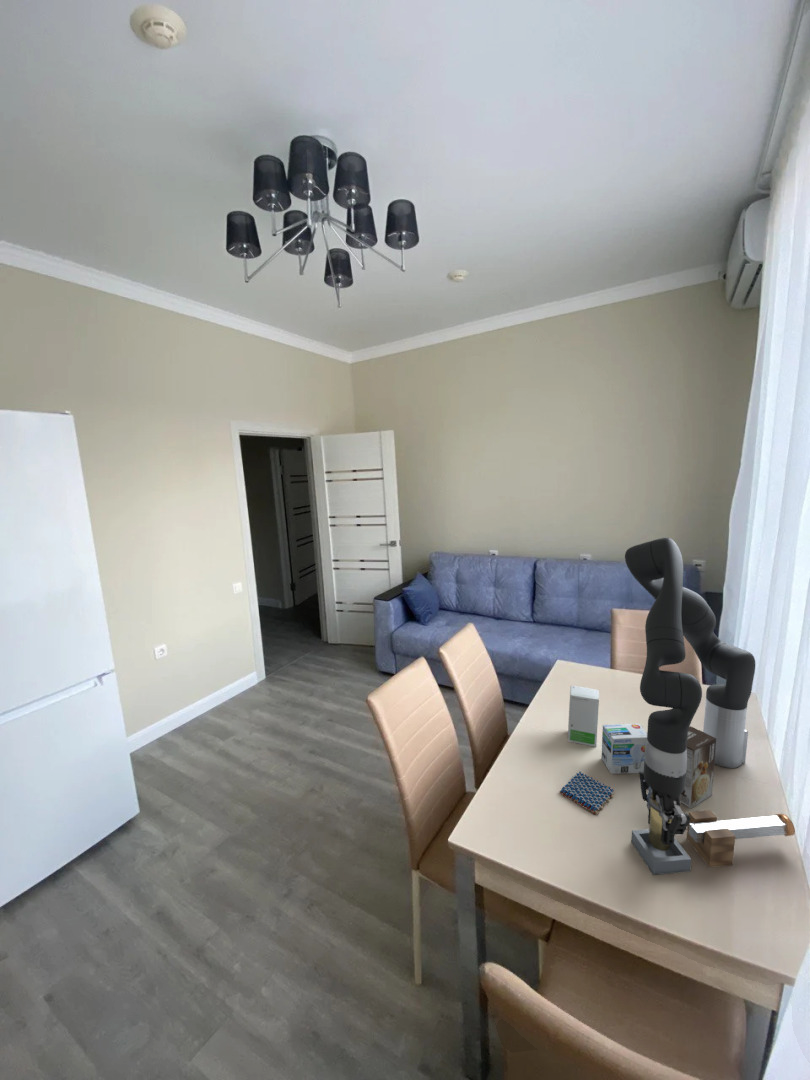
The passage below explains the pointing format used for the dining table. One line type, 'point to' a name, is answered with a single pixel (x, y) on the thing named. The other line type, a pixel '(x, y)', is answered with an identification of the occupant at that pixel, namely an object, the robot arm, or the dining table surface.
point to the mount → (712, 841)
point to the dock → (660, 855)
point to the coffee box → (698, 767)
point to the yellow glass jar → (656, 826)
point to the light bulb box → (624, 748)
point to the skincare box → (583, 715)
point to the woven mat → (587, 792)
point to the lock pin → (746, 827)
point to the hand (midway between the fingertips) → (660, 833)
